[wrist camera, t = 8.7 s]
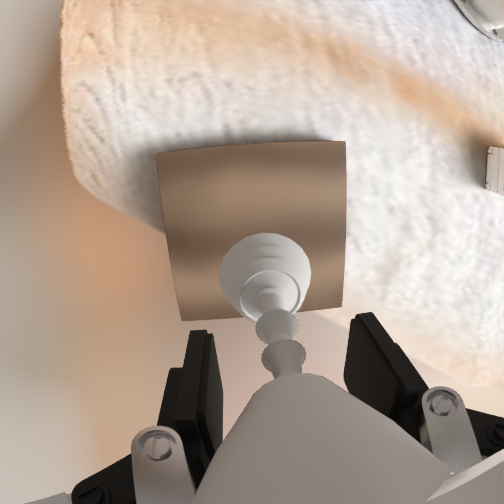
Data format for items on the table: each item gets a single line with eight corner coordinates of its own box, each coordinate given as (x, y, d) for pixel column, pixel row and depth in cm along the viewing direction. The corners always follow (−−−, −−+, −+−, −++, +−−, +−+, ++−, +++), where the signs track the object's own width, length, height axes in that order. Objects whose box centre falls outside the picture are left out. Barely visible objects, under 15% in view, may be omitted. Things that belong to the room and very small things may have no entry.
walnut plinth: (165, 152, 23) (155, 153, 21) (333, 141, 24) (345, 141, 21) (186, 303, 28) (181, 321, 25) (332, 291, 29) (341, 306, 26)
